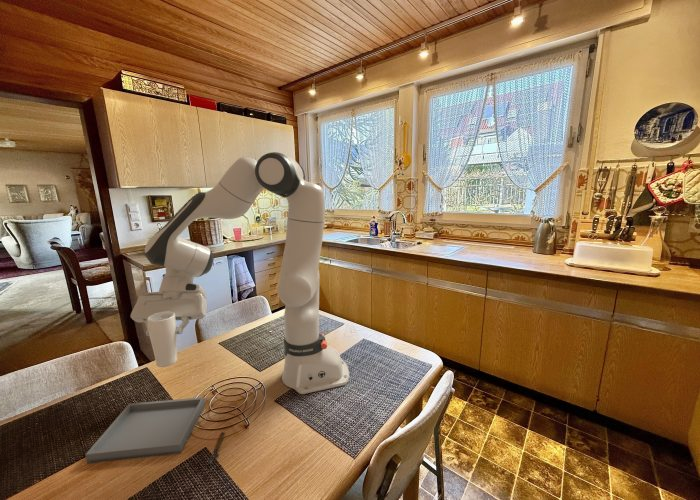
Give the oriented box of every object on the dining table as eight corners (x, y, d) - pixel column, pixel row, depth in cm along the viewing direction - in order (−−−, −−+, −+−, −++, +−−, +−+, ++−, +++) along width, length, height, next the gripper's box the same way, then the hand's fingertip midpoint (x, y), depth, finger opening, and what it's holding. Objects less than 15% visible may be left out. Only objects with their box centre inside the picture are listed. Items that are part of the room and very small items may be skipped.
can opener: (221, 435, 73) (220, 431, 73) (230, 435, 73) (229, 431, 73) (203, 469, 64) (202, 464, 64) (213, 469, 64) (213, 464, 64)
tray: (205, 404, 83) (204, 397, 82) (181, 453, 67) (179, 444, 67) (130, 411, 80) (129, 403, 80) (87, 463, 65) (85, 454, 64)
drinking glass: (167, 371, 81) (161, 322, 77) (147, 368, 82) (140, 319, 79) (185, 358, 87) (180, 312, 84) (166, 354, 88) (161, 309, 85)
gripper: (134, 288, 87) (118, 333, 79) (205, 285, 89) (196, 328, 82) (145, 297, 92) (131, 340, 84) (212, 294, 94) (204, 335, 87)
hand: (164, 334), depth 83 cm, fingers closed on drinking glass, 6 cm apart
